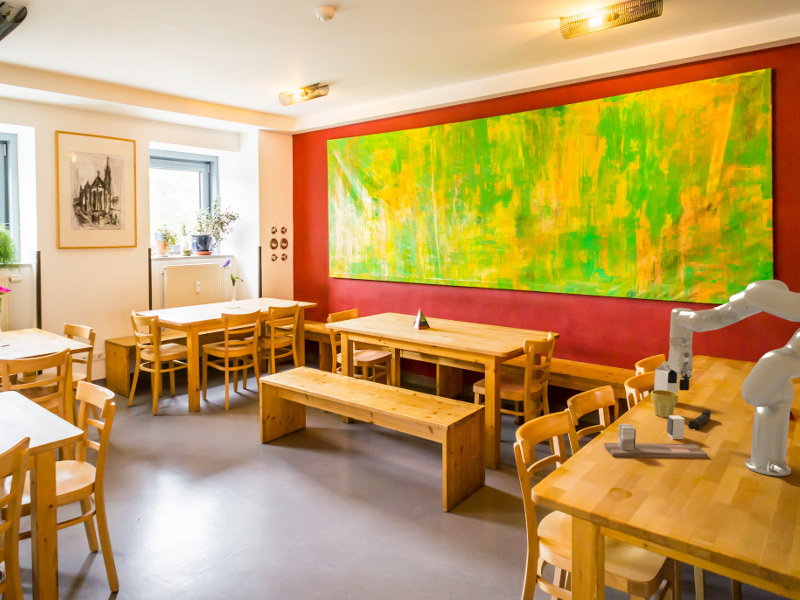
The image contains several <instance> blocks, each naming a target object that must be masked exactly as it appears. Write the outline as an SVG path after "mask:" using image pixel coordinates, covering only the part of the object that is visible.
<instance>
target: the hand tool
mask: <svg viewBox="0 0 800 600" xmlns="http://www.w3.org/2000/svg"><path fill="white" fill-rule="evenodd" d="M711 415H712V414H711V410H710V409H705V410H702V412H701V413H700V415H698V416H697V417H696V418H693V419H692V420H688V428H690V429H689V430H692V429H695V430H694V431H698V430H699V429H700V428H701V427H702V426H703V425H705V424H706V422H707V424H709V422H710V420H711Z"/></svg>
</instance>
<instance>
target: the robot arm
mask: <svg viewBox="0 0 800 600" xmlns="http://www.w3.org/2000/svg"><path fill="white" fill-rule="evenodd" d="M762 312H765V313H767V314H770V315H773V316H775V317H778V318H782V319H784V320H787V321H789V322H797V323H799V322H800V292H793V291H790V290H789V287H788V285H787V284H786V283H784V282H783V281H782V280H778V279H764V280H755V281H753V282H751V283H750V284H748V285H747V287H746V288H745V289H743V290H741V291H739V292H737V293H734V294H732V295H730V296H729V300H728V302H725V303H724V304H722V305H719V306H717V307H713V308H711V309H701V310H693V309H691V308H685V307H675V308H673V309H672V310H671V312H670V313H671V314H670V324H669V327H670V329H669V342H668V343H669V349H668V350H669V351H668V359H667V361H666V362H668V383H677V373H679V385H678V391H689V390H690V381H691V377H692V373H693V349H692V347H693V335H694V333H693V332H696V333H702V332H709V331H715V330H719V329H722V328H725V327H727V326H730V325H733V324H735V323H738V322H740V321H742V320H745V318H748V317H751V316H754V315H756V314H759V313H762ZM676 372H677V373H676ZM799 377H800V327H799V328H798V329H797V330H795V332H794V333H793V335H792V336H791V338H790V339H789V340H788V342H787V343H786V344H785V345H784V346H783V347H780V348H778V349H773V350H770V351H767V352H766V353H765V354H763V355H762V356H761V357H760V358H759V359H758V361H757V363H756V364H754V366H753V368H752V369H751V371H750V373H748V375H747V376H746V378H745V379H744V380H743V382H742V384H741V390H740V391H741V392H740V393H741V397H742V399H743V400H744V401H745V403H747V404H748V405H750V406H751V407H754V413H753V420H752V421H753V424H752V437H751V450H750V457H749V458H746V459H745V460H744V466H745V467H747V469H748V470H749V469H750V470H751V471H754V472H756V473H759V474H763V475H768V476H772V475H773V477H785V476H786V477H787V476H789V475H791V474H792V469H791V467H790V466H788V464H787V462H788V461H787V449H788V439H789V438H788V436H789V425H790V414H791V409H792V404H793V401H794V397H795V385H794V384H793V381H792V379H797V378H799Z"/></svg>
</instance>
